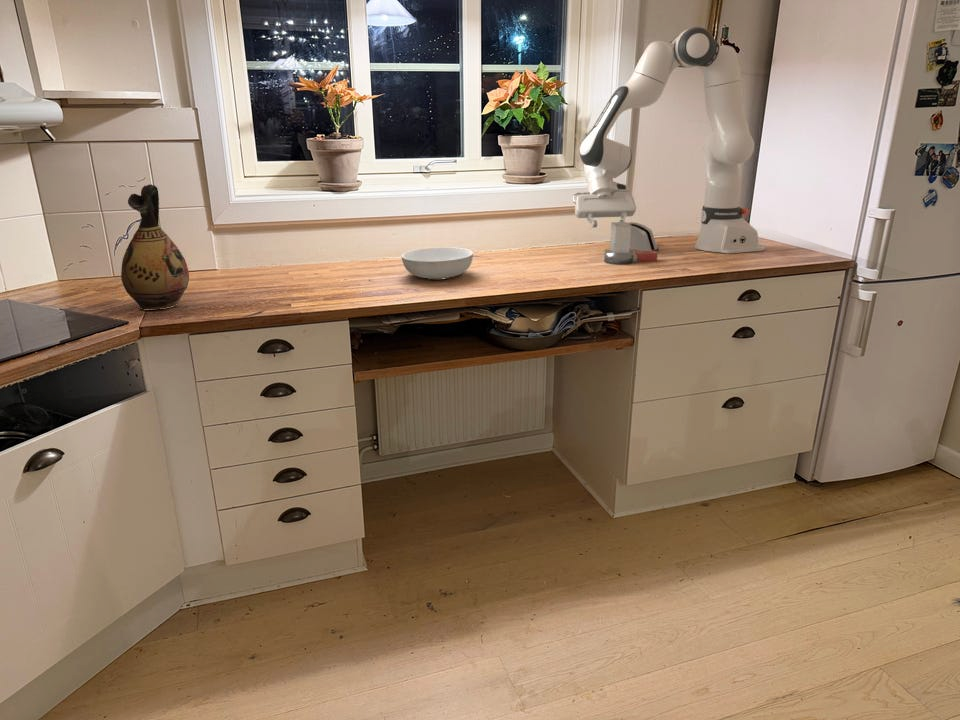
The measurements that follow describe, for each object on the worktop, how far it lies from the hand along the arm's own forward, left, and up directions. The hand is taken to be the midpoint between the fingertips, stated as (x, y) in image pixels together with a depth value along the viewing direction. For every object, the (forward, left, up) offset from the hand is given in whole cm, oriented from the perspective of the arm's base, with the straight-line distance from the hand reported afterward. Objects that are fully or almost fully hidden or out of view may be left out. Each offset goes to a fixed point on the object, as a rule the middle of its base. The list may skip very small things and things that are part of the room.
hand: (608, 226), depth 224 cm
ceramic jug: (+130, +42, -9) cm, 137 cm away
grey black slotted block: (-12, -8, -10) cm, 17 cm away
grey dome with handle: (-4, +12, -9) cm, 16 cm away
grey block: (0, +12, -6) cm, 14 cm away
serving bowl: (+58, +22, -10) cm, 63 cm away
